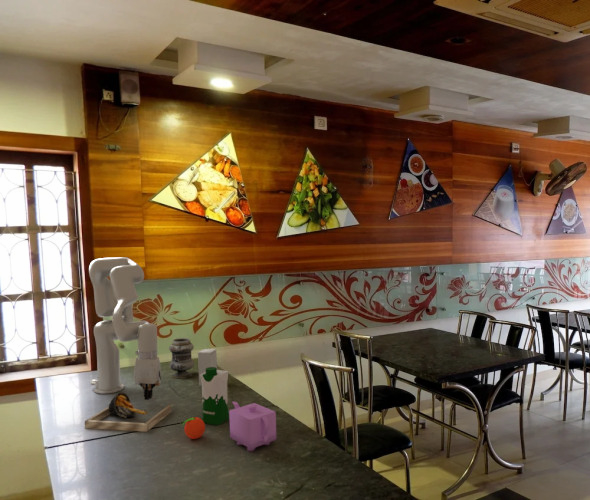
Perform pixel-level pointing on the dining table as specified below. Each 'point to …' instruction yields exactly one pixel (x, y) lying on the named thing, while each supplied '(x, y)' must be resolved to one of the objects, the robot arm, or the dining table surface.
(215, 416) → the milk carton
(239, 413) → the teapot
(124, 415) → the fried shrimp in bowl
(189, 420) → the clementine
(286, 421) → the dining table surface
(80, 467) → the dining table surface
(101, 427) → the serving frame
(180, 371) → the apothecary jar
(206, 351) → the skincare box
